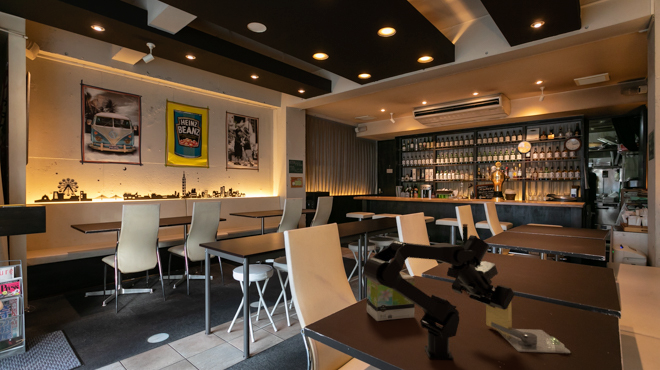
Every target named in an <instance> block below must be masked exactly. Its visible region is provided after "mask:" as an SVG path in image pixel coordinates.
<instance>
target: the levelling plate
mask: <svg viewBox="0 0 660 370" xmlns="http://www.w3.org/2000/svg"><path fill="white" fill-rule="evenodd" d="M515 329H516V330H518V331H521V332H528V333H532V334H535V335H536V336H537V345H528V344H525V343H523V342H522V341H521V339H520V338H518V337H515V336H513V335H511V334H506V333H504V332H502V331H499V330H497V329H496V331H497V332H498V333H499V334H500V335H501V336H502V337H503V338H504V339H505V340H506V341H507V342H508V343H509V344H510V345H511V346H512V347H513V348H514V349H515V350H516V351H517V352H519V353H520V352H524V353H525V352H526V353H527V352H528V353H554V354H556V353H557V354H571V351H570V349H568V348H567V347H566V346H565V344H564V343H562V342H561V341H560V340H559V339H557V338H556V337H555V336H551V335H549V333H547V332H545V331H544V330H543V329H532V328H531V329H530V328H529V329H528V328H527V329H525V328H515Z"/></svg>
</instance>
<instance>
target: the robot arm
mask: <svg viewBox="0 0 660 370" xmlns="http://www.w3.org/2000/svg"><path fill="white" fill-rule="evenodd" d="M489 249H490V245H489V243H487V242H486V241H484V240H483V239H481V238H479V237H478V236H477V235H473V234H470V235H469V236H468V240H467V242H466V244H465V245H464V247H462V246H459V245H457V244H453V243H448V242H441V243H435V244H432V245H431V244H422V243H411V242H404V241H399V240H395V241H392V242H391V243H390V244H389V245H388V246H387V247H385V248H383V249H382V250H380V251H378V252H377V253H375V254H373V256H372V257H370V258H369V259H367V260H365V263H364V265H363V268H362V269H363V275H364V277H365V278H366V279H367V278H368V279H370V280H372V281H374V282H377V283H379V284H381V285H383V286H386V287H389V288H391V289H393V290H394V291H396V292H397V293H399V294H400V295H402V296H404V297H405V298H407V299H408V300H410V301H411V302H413V303H414V304H415V306H417V307H419V309H422V311H423V316H422V317H421V319H420V321H419V322H420V325H421V328H423V329H426V330H427V345H424V350H425V352H426V354H427V356H428V358H429V359H431V360H432V359H433V360H454V356H453V354H452V353H451V351H450V338H453V337H455V336H457V332H458V328H459V324H460V315H459V314H460V312H459V310H458V309H457V306H456V305H454V304H452V303H451V302H450V301H448V300H447V299H444V297H443V298H442V297H440V296H437V295H435V294H433V293H432V294H431V296H430V295H428V294H427V293H425V292H423V291H422V290H421V289H419V288H418V287H416V285H415V286H414V285H412V284H411V283H409V282H408V281H406V280H405V279H404V278H402V276H401V274H400V272H402V270H403V267H404V265H405V262H406V261H407V259H408V258H409V259H410V258H411V259H421V260H422V259H424V260H435V261H438V262H440V263H444V264H448V265H450V266H449V267H448V269H447V272H446V276H447V277H450V278H452V279H454V280H453V283H451V289H452V290H453V292H454V293H457V294H459V295H462V294H463V291H462V290H463V289H462V288H463V287H466V288H467V290H465V291H466V293H467V294H469V299H472V300H474V301H476V302H479V303H481V304H483V305H485V306H486V305H488V306H490V307H493V308H495V307H498V308H500V309H503V310H505V309H507V308H508V306H509V304H510V302H511V303H512V301H513V298H514V296H515V295H516V294H515V291H514V290H513V288H512V287H509V286H505V285H502V284H499V285H496V286H494V285H493V284H492V283H493V281H492V279H493V278H495V276H498V275H499V271H498V269H497V266H496V263H494V262H489V261H483V259H484V257H485V255H486V254H487V252H488V251H489ZM389 261H390V262H389Z"/></svg>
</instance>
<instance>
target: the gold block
mask: <svg viewBox="0 0 660 370" xmlns="http://www.w3.org/2000/svg"><path fill="white" fill-rule="evenodd" d="M485 312H486V313H485V324H486V326H488V327H490V328H493V329H495V330H496V331H497V330H499V331H502V332H504V333H506V334H511V335H513V336H515V337H518V338H520V339H521V341H522V342H523V343H525V344H528V345H537V336H536V335H535V334H532V333H528V332H521V331H518V330H516V329H517V328H513V327H512V326H513V322H512V321H513V319H512V316H513V315H512V301H511V302H510V304H509V306H508V308H507V309H505V310H503V309H500V308H498V307H495V308H493V307H490V306H488V305H486V304H485Z"/></svg>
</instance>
